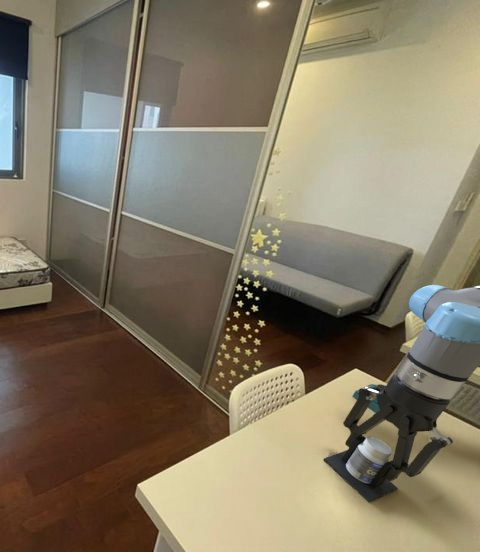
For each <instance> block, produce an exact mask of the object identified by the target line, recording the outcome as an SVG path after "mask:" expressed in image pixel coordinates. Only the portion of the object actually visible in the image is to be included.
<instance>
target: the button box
mask: <svg viewBox="0 0 480 552" xmlns="http://www.w3.org/2000/svg"><path fill="white" fill-rule="evenodd" d="M377 385H378V384H373V383H371V384H368V385H367V386H366V387H368V386H370V387H372V388H373V390H374V389H375V388H376V386H377ZM358 397H359V389H357V390H355V391H354V392H353V394H352V398H354V399H355V400H356V401H357V400H358ZM367 409H369V410H371V411H372V412H373V413H374V414H375V413H377V412H378V411H380V409H379V405H378V401H377V398H375V399H374V400H372V402H371V403H370V405H369V406H368V408H367Z"/></svg>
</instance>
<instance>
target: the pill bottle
mask: <svg viewBox="0 0 480 552" xmlns="http://www.w3.org/2000/svg"><path fill="white" fill-rule="evenodd" d="M392 454H393V450H392V449H391V447H390V446H389V445H388V444H387V443H386V442H384V441H383V440H381V439H380V438H377V437H374V436H367V437H366V439H365V441H364V442H363V443H360V444H359V445H358V446H357V448H356V450H355V451H354V452H353V454H352V455H351V457H350V458H349V460H348V461H347V463H346V468H347V470H348V471H349V472H350V474H351V475H353V476H354V477H355V478H356V479H358V480H359V481H361V482H364V483H368V484H370V483H371V482H372V481H373V479H374V478H375V476H376V475H377V474H378V472H379V471H380V470H381V468H382V467H383V466H384V464H385V463H387V462H389V458H390V457H391V456H392Z"/></svg>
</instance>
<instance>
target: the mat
mask: <svg viewBox="0 0 480 552" xmlns="http://www.w3.org/2000/svg"><path fill="white" fill-rule="evenodd" d="M347 450H348V449H346V450H343V451H340V452H338V453H335V454H332V455H330V456H326V457H324V458H323V461H324V463H326V464H327V465H328V466H329V467H330V468H331V469H332V470H334V472H335V473H337V474H338V476H340V477H341V478H342V479H343V480H344V481H345V482H347V484H348V485H349V486H351V487H352V488H353V489H354V490H355V491H356V492H357V493H358V494H359V495H360V496H361V497H362V498H363V499H365V500H366V501H367V502H368V503H371V502H374V501H375V500H378V499H379V498H382V497H384V496H387V495H388V494H390V493H392V492H394V491H397V490H398V489H399V487H398V486H396V485H395V484H394V483H393V482H392V481H389V480H388V479H386V480H385V481H384V483H383V484H382V485H380V486H378V487H376V488H372V487H371V486H370V484H368V483H364V482H361V481H359V480H358V479H356V478H355V477H354V476H353V475H351V474H350V472H349V471H348V470H347V468H346V463H347V462H346V463H344V462H343V461H342V460H341V459H342V458H343V456H344V455H345V453H346V452H347Z"/></svg>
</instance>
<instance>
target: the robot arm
mask: <svg viewBox="0 0 480 552" xmlns="http://www.w3.org/2000/svg"><path fill="white" fill-rule="evenodd" d="M408 307H409V310H410V311H411V313H413V315H415V316H416V317H417V318H419V319H420V320H422V322H424V326H423V327H422V329H421V331H420V332H419V334H418V336H417V338H416V339H415V341H414V342H413V344H412V345H411V348H409V351H407V353H406V355H405V356H404V358H403V359H402V361H401V363H400V364H399V366H398V367H397V369H396V370H395V373H394V374H392V376H391V377H390V379H389V380H388V382H387V384H386V385H385V386H386V387H385V388H384V390H383V391H380V392H378V391H375V390H373V388H372V387H370V386H368V385H367V386H368V387H367V386H364V387H360V388H359V389H358V390H359V397H358V400H356V401H355V402H354V404H353V406H352V407H351V409H350V411H349V413H348V414H347V416H346V417H345V419H344V420H343V422H342V423H343V426H344V427H345V428H347V429H348V430H349V431H350V434H349V436H348V437H347V439H346V441H345V443H344V444H345V446H347V449H346V450H347V452H346V453H345V455H344V456H343V458H342V459H341V460H342V461H343V462H344V463H346V462H347V461H348V460H349V458H350V457H351V455H352V454H353V452H354V451H355V450H356V448H357V446H358V445H359V444H360V443H363V442H364V441H365V439H366V438H367V437H365V435H366V434H367V433H368V432H369V431H372V430H373V429H374V428H376V427H377V426H379V425H380V424H381V423H383V422H384V421H386V422H388V423H391V424H392V425H393V426H394V427H396V429H398V431H397V436H398V437H397V440H396V445H395V449H394V452H393V453H394V454H393V458H392V460H390V461H389V462H387V463H385V464H384V466H383V467H382V468H381V470H380V471H379V472H378V474H377V475H376V476H375V478H374V479H373V481H372V482H371V483H370V486H371V487H372V488H376V487H378V486H380V485H382V484H383V483H384V481H385V480H386V479H388V480H389V481H390V482H392V481H395V480H396V479H398V477H399V476H400V475H401V474H402V473H404V474H405V475H406V476H407V477H409V478H414V477H416V476H418V475H420V474H422V473H423V471H424V470H425V469H426V468H427V467H428V466H429V464H430V463H431V462H432V461H433V459H434V458H435V457H436V455H438V453H439V452H440V451H441V449H443V448H445V447H448V446H450V445H452V444H453V443H454V440H453V439H452V438H451V437H450V436H447V435H446V436H445V435H444V434H443V433H442V432H441V431H439V429H438V428H437V420H438V419H439V418H440V416H441V415H442V413H443V412H444V411H445V410H446V408H447V407H448V405H449V404H450V403H451V400H453V399H454V398H455V397H456V395H458V393H459V391H461V389H462V388H463V386H464V385H465V384H466V383H467V381H468V380H469V378H470V377H471V376H472V375H473V374H474V372H475V371H476V370H477V369H478V368H479V369H480V285H477V286H472V287H467V288H460V289H456V290H453V289H452V288H450V287H446V286H443V285H441V284H440V285H439V284H430V285H426V286H423V287H421V288H419V289H417V290H416V291H414V293H413V294H412V295H411V296H410V298H409V301H408ZM375 398H377V401H378V405H379V409H380V411H378V412H377V413H375V412H374V414H373V415H372V416H370V417H369V418H368V419H367V420H365V421H364V422H362V423H360V425H358V424H359V422H360V420H361V419H362V417H363V416H364V414H365V412H366V411H367V409H369V408H368V406H369V405H370V403H371V402H372V400H374V399H375ZM420 432H427V433H428V434H429V435H428V436H427V441H428V442H427V443H426V444H425V445H423V447H422V448H421V449H420V451H419V452H418V453H417V455H416V456H415V457H414V458H413V460H412V461H411V462H410V463H409V461H410V457H411V454H412V449H413V445H414V441H415V438H416V436H418V435H417V434H418V433H420Z"/></svg>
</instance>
